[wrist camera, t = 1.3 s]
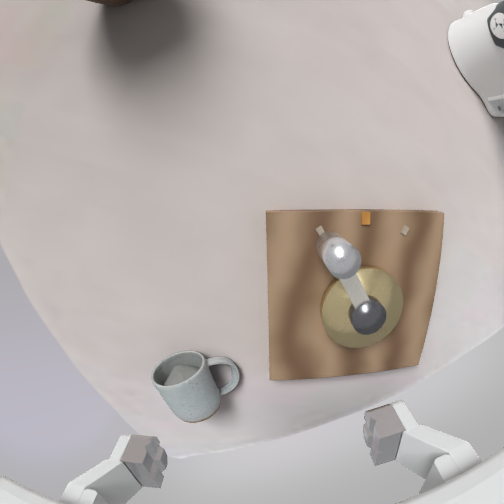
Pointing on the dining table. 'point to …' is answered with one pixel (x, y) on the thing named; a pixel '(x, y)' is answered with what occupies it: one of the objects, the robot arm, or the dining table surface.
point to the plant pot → (111, 2)
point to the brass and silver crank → (356, 295)
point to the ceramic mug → (191, 384)
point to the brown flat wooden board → (318, 277)
